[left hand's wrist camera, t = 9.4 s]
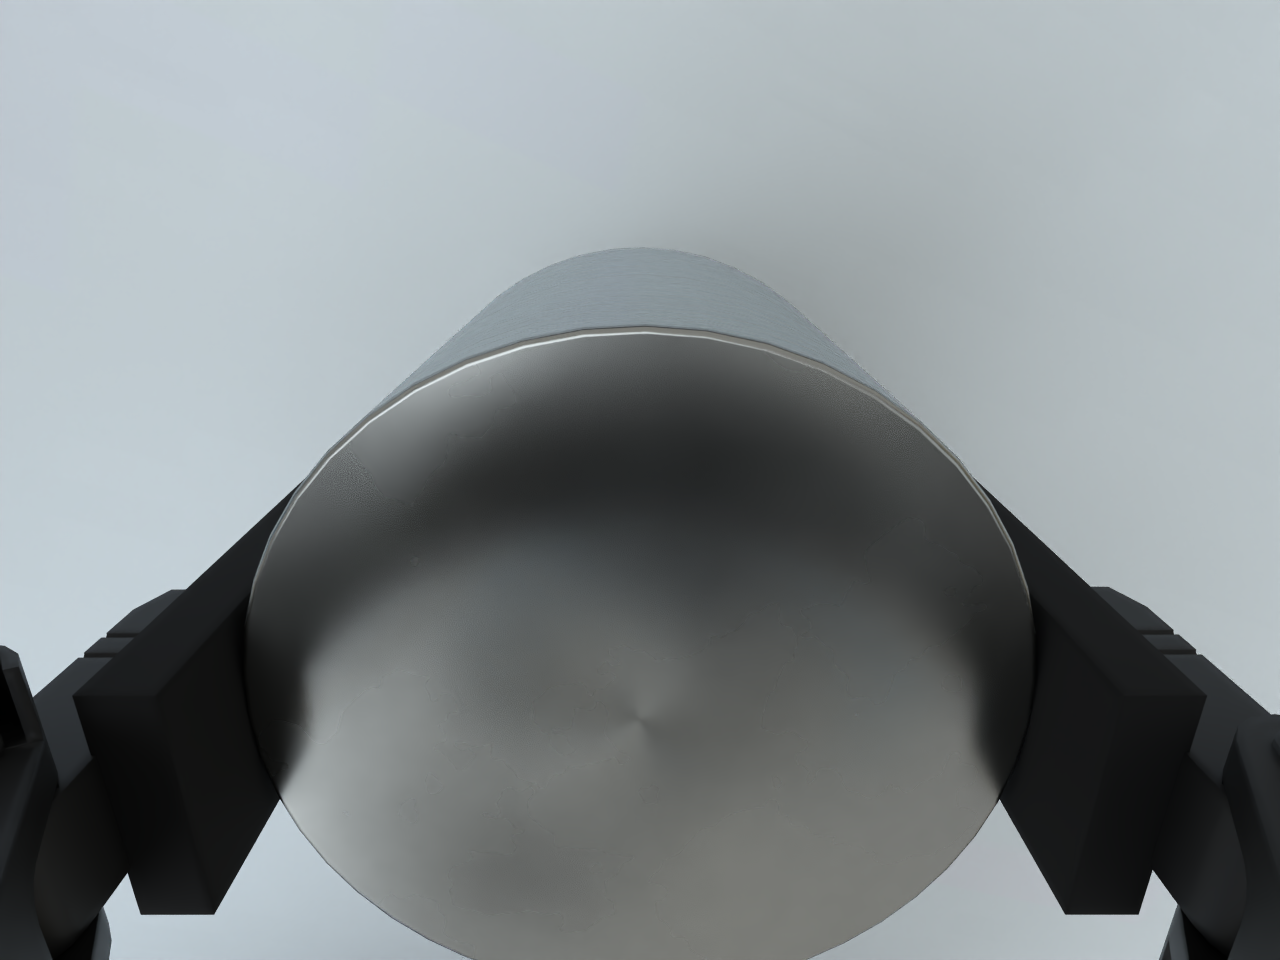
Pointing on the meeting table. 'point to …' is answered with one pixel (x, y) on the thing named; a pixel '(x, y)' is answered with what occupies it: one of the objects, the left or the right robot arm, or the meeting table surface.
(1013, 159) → the meeting table surface
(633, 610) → the can
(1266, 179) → the meeting table surface
